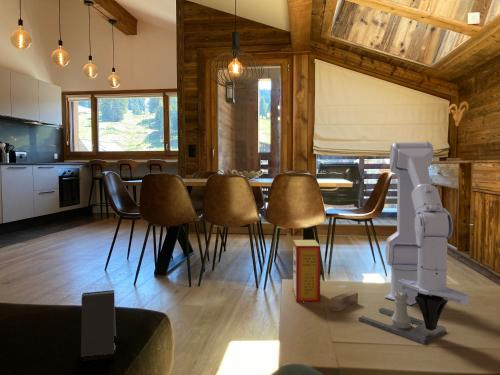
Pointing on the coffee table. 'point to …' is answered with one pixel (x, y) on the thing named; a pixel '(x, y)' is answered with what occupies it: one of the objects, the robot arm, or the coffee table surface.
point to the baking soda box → (306, 270)
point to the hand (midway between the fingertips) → (431, 328)
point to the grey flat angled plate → (415, 334)
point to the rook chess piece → (401, 311)
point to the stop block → (344, 301)
